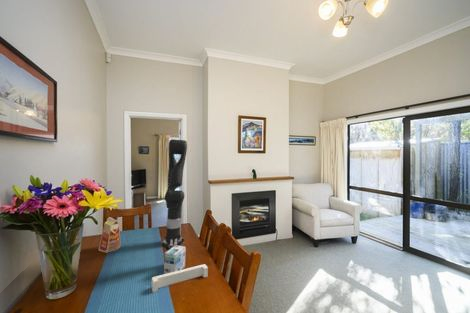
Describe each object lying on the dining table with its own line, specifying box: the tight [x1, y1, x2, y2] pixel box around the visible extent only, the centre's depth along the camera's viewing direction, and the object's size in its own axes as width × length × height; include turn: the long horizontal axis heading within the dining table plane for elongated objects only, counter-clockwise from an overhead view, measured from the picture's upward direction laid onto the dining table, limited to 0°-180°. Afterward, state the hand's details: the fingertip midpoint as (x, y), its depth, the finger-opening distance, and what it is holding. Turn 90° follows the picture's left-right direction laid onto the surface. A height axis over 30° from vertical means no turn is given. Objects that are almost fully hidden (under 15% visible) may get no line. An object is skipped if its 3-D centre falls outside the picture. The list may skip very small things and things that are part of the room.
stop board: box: [151, 263, 209, 293], centre depth 95 cm, size 4×26×4 cm, turn 121°
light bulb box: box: [163, 245, 187, 274], centre depth 105 cm, size 11×7×11 cm, turn 165°
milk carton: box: [98, 216, 121, 254], centre depth 127 cm, size 9×9×20 cm
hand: (172, 256), depth 111 cm, fingers closed
